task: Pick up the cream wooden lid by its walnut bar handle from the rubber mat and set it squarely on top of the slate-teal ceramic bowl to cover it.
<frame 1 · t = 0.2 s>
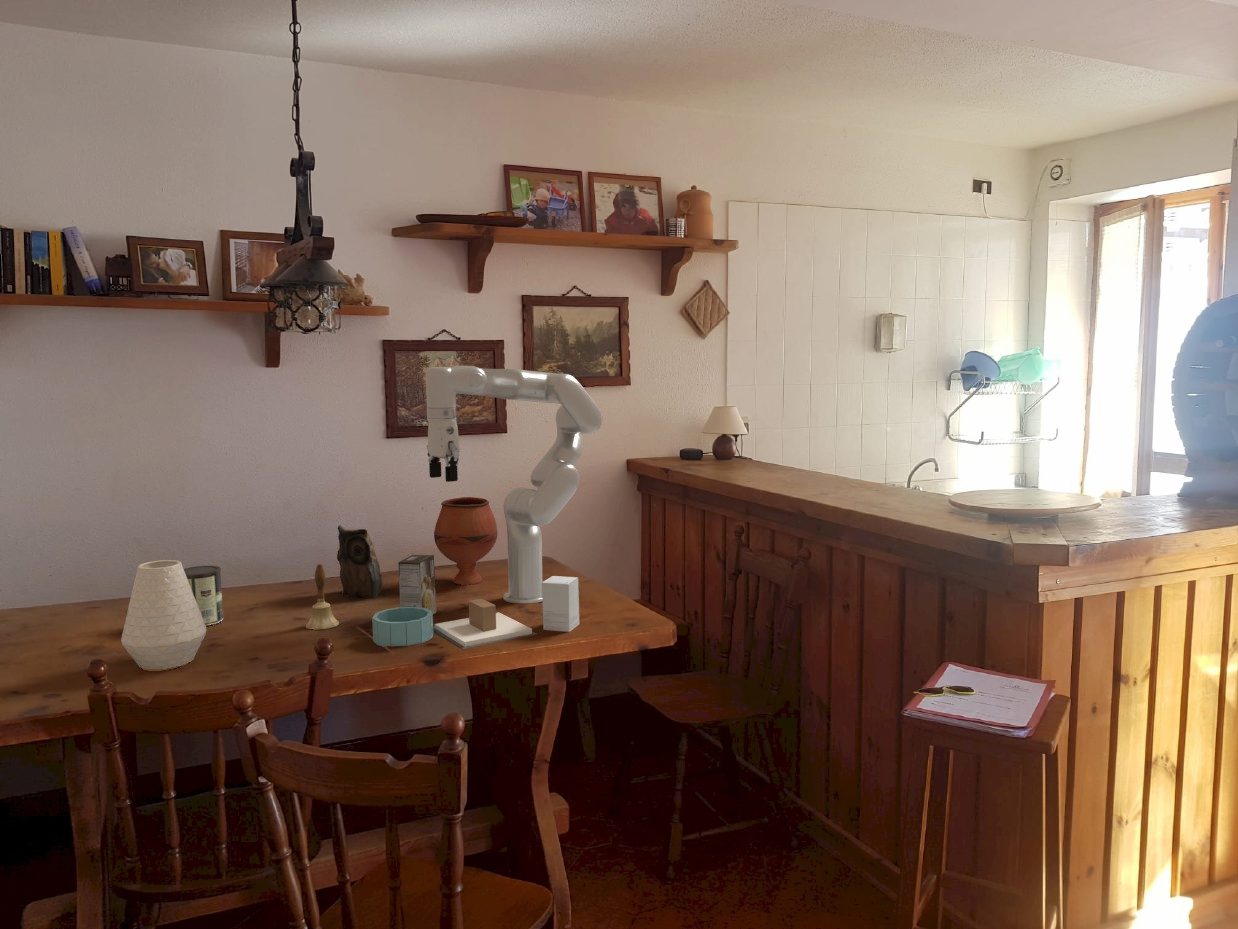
hand: (443, 479, 248), 36 cm above the table, tool pointing down, fingers open, 9 cm apart
coffee can: (202, 623, 246), on the table
goblet: (467, 582, 287), on the table
owl: (365, 593, 274), on the table
bowl: (403, 638, 231), on the table
lid: (482, 631, 235), resting on mat
hand bell: (322, 626, 243), on the table
vase: (166, 664, 214), on the table
coffee box: (418, 618, 249), on the table
mat: (482, 632, 235), on the table
supplement box: (561, 628, 239), on the table
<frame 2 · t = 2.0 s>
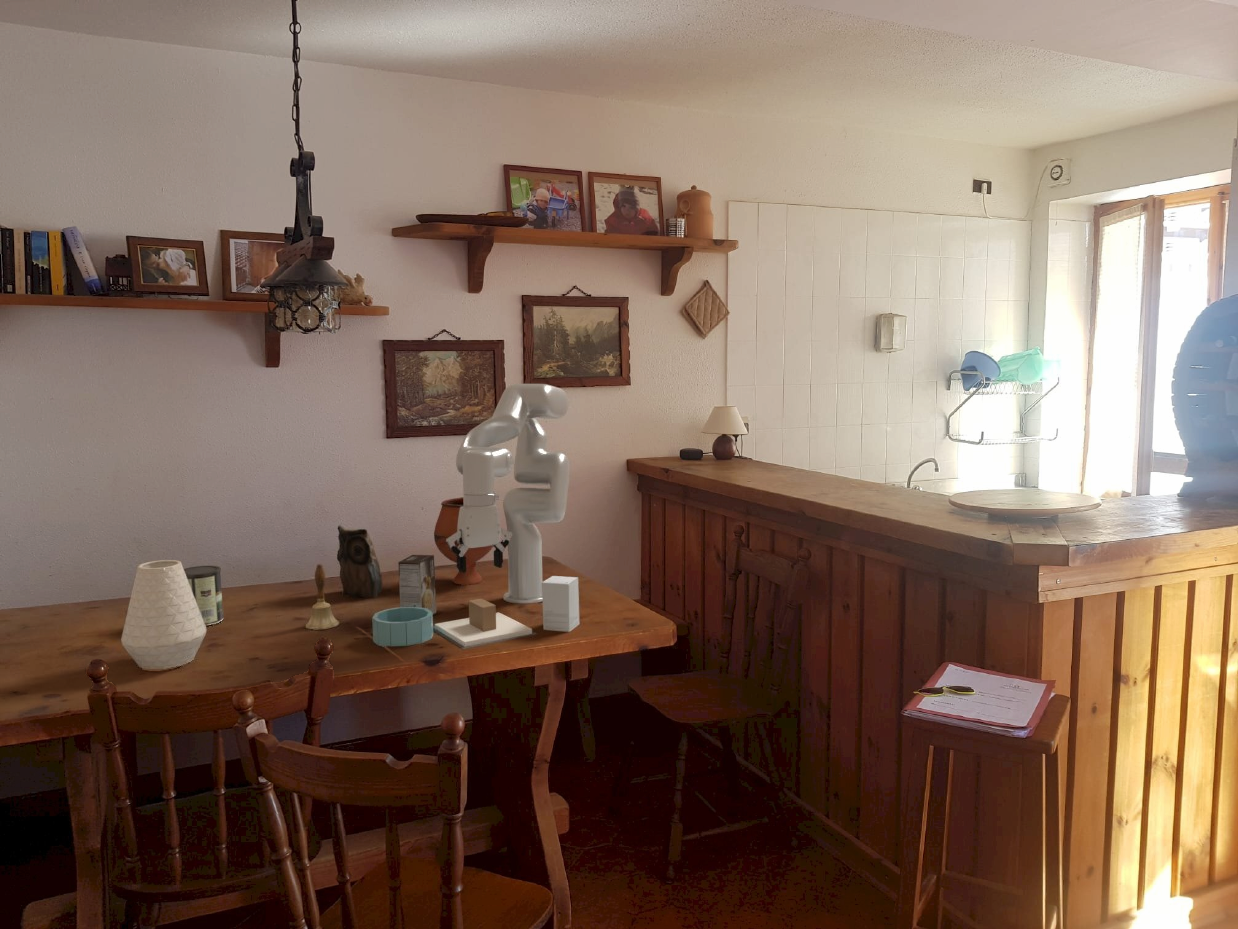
hand: (480, 569, 233), 16 cm above the table, tool pointing down, fingers open, 9 cm apart
nothing on the table moved.
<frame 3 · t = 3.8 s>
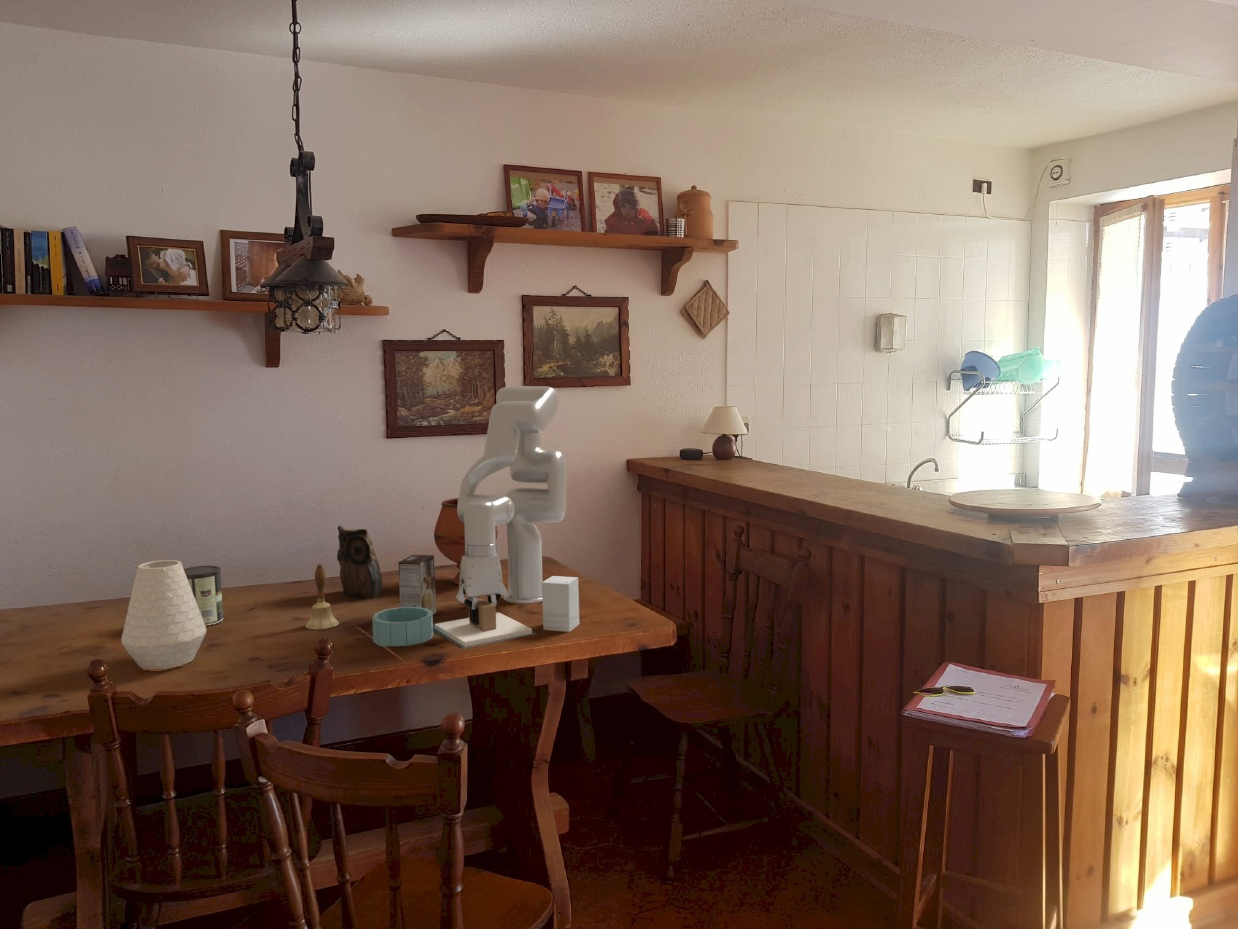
hand: (482, 621, 235), 3 cm above the table, tool pointing down, fingers closed on lid, 3 cm apart
lid: (482, 631, 235), resting on mat, touching gripper
everything else where it was.
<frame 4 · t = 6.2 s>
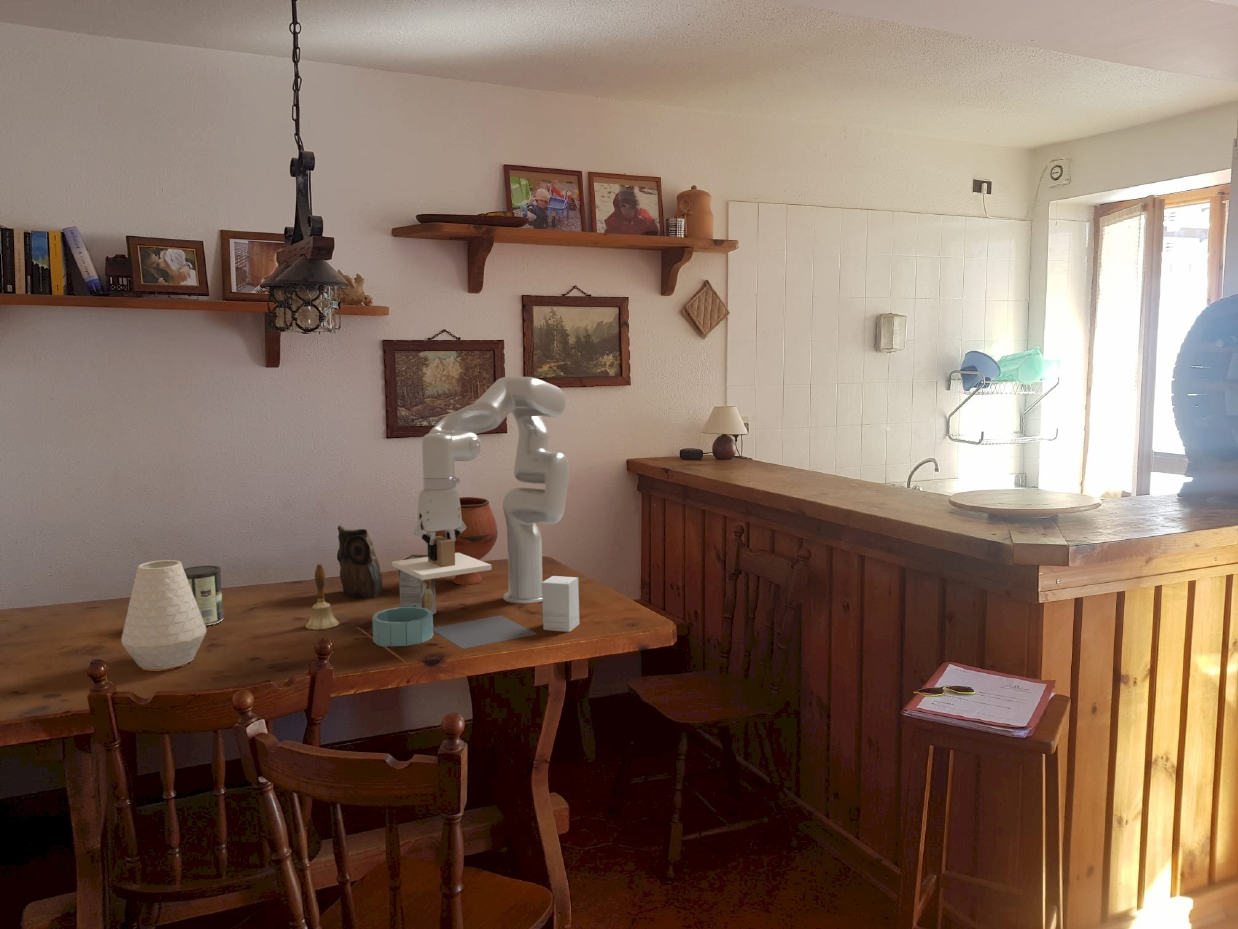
hand: (441, 558, 230), 20 cm above the table, tool pointing down, fingers closed on lid, 3 cm apart
lid: (441, 568, 231), point 17 cm above the table, touching gripper
everything else where it was.
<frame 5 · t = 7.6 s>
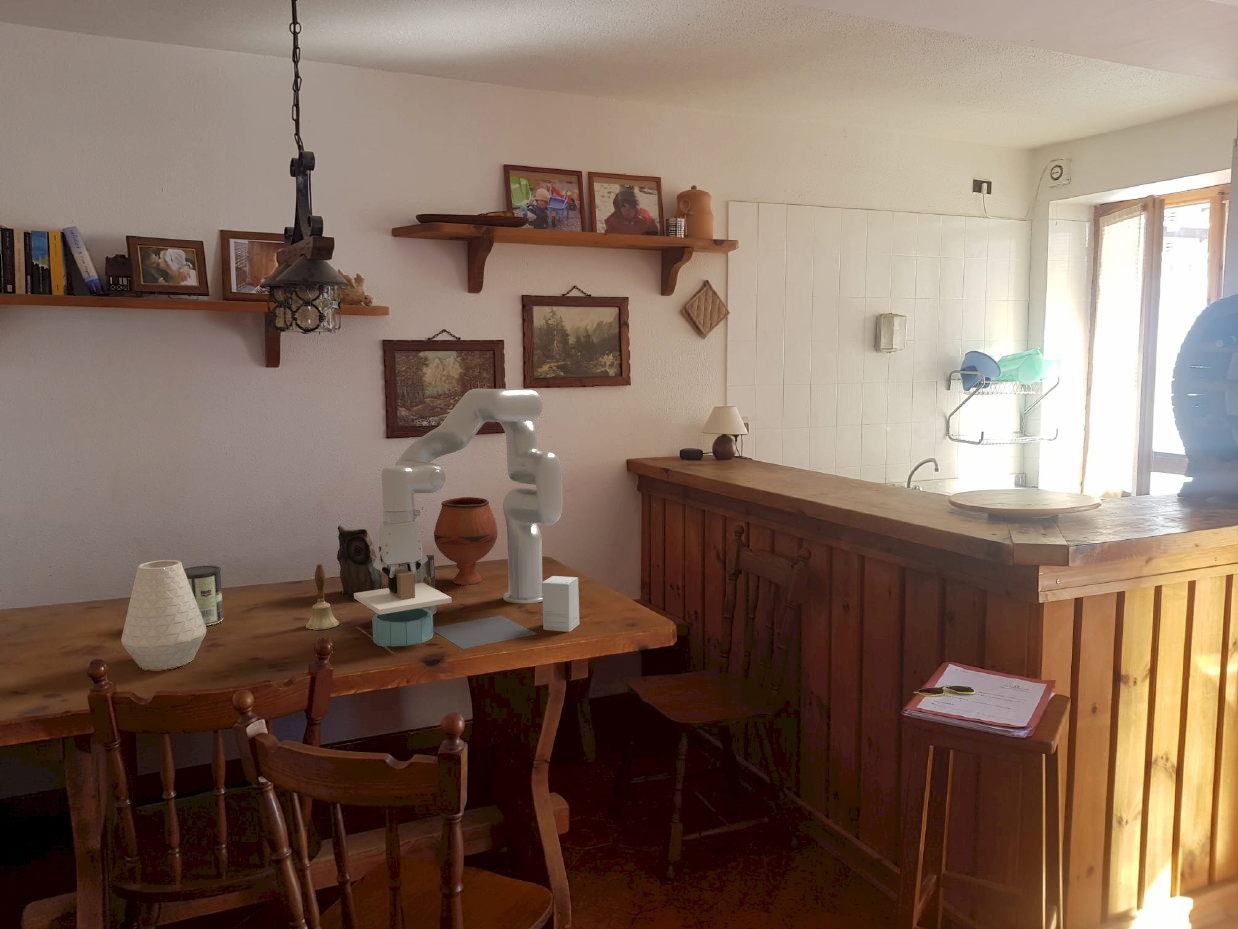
hand: (401, 590, 229), 12 cm above the table, tool pointing down, fingers closed on lid, 3 cm apart
lid: (402, 600, 230), point 10 cm above the table, touching gripper
everything else where it was.
when the fingers open (9 cm above the table, at t = 8.8 s): lid stays where it is, resting on bowl.
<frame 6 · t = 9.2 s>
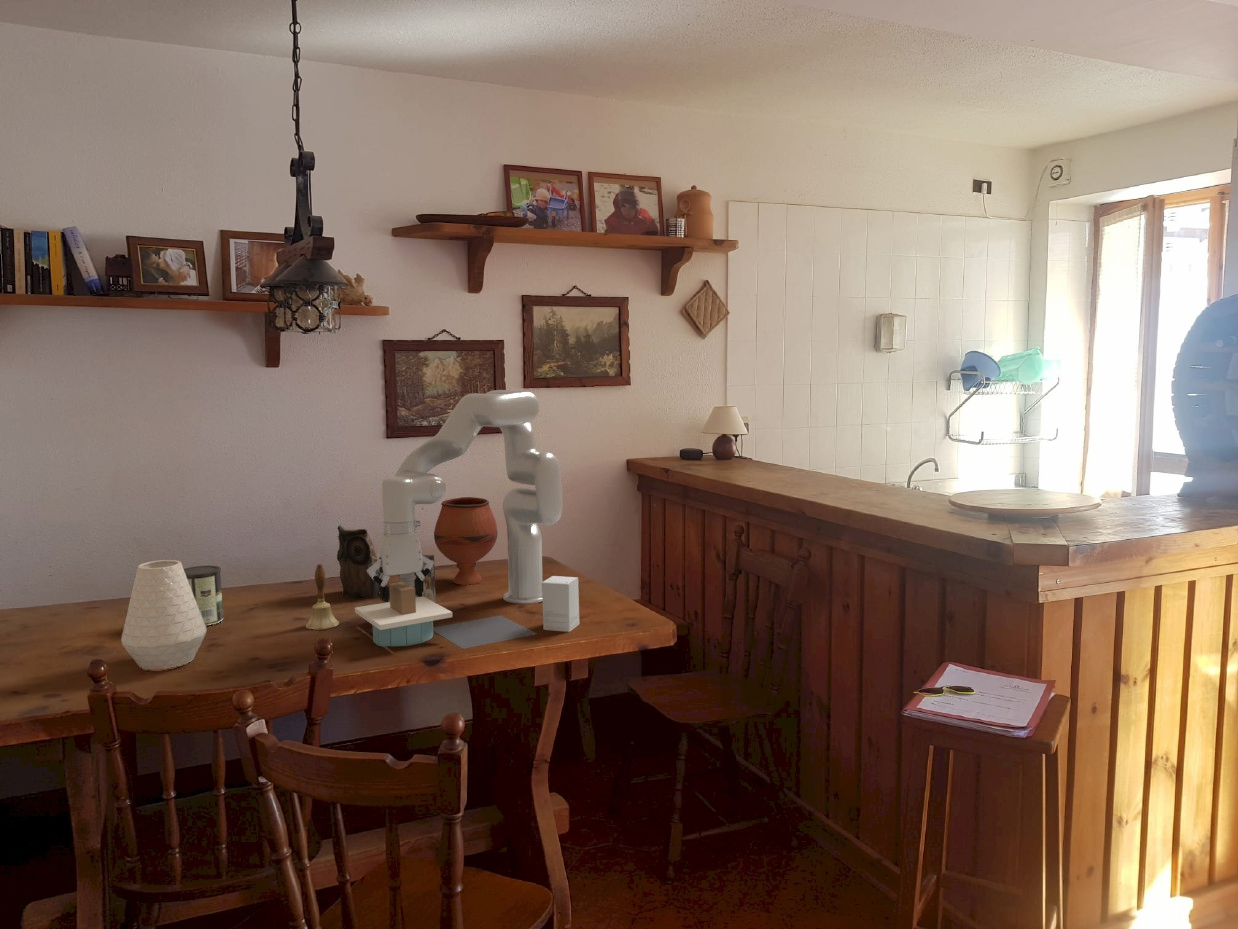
hand: (402, 598, 230), 10 cm above the table, tool pointing down, fingers open, 8 cm apart
lid: (403, 614, 230), point 6 cm above the table, touching bowl
everything else where it was.
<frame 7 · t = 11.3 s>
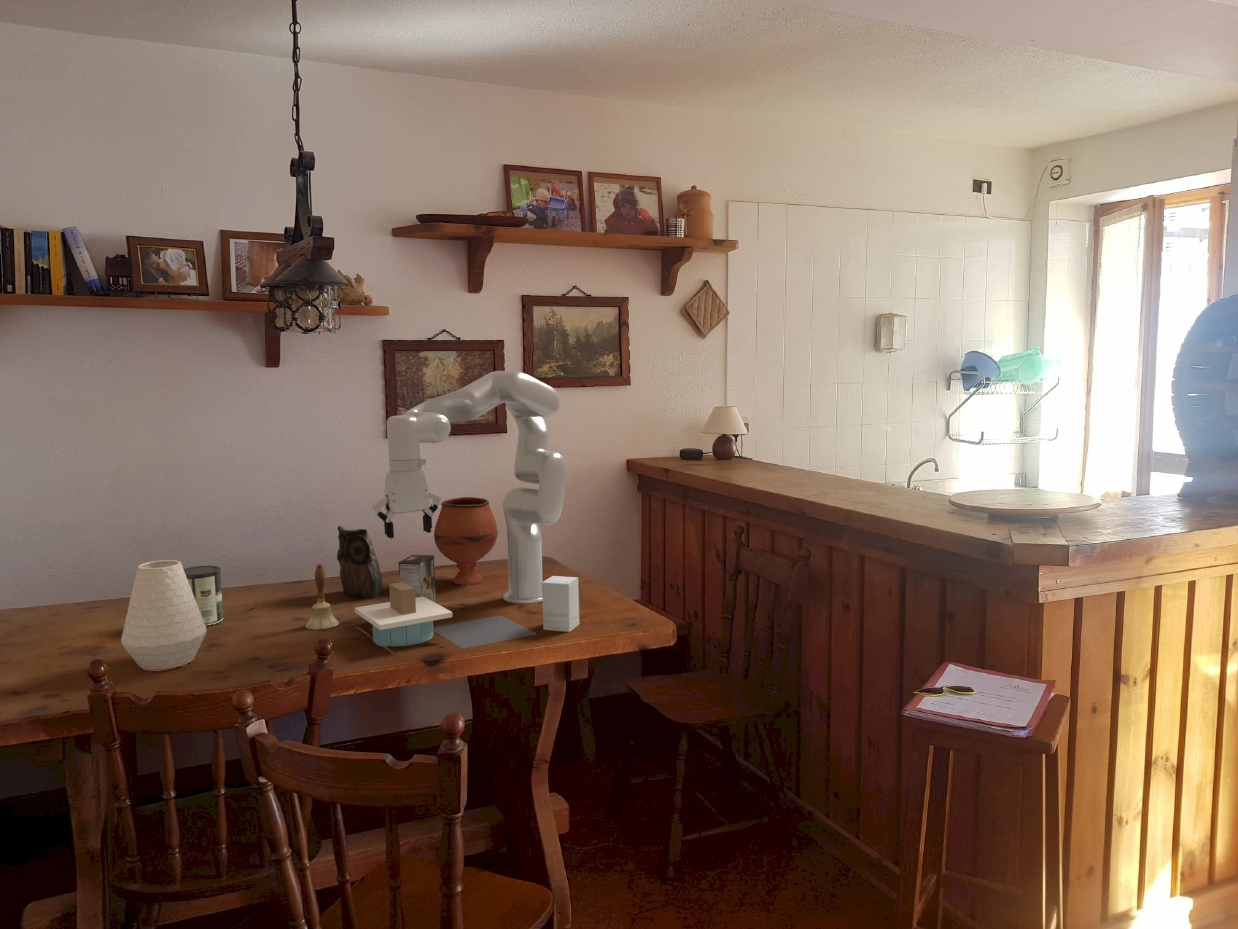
hand: (408, 534, 232), 25 cm above the table, tool pointing down, fingers open, 9 cm apart
nothing on the table moved.
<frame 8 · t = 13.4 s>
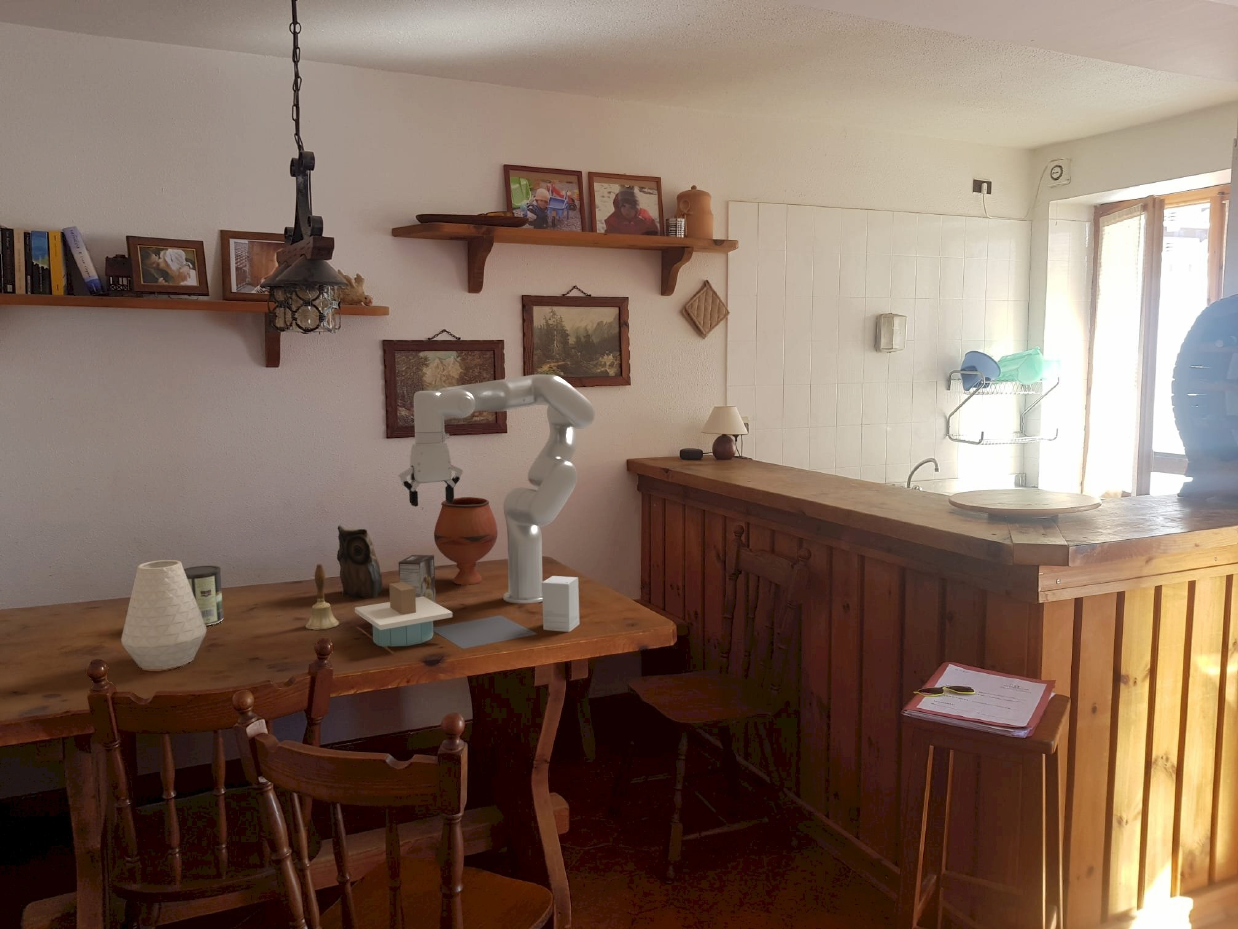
hand: (432, 503, 246), 30 cm above the table, tool pointing down, fingers open, 9 cm apart
nothing on the table moved.
at the end: lid 0.1 cm off-centre on the bowl, point 6.0 cm above the bowl's base; lid tilted 0°; the gripper is holding nothing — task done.
